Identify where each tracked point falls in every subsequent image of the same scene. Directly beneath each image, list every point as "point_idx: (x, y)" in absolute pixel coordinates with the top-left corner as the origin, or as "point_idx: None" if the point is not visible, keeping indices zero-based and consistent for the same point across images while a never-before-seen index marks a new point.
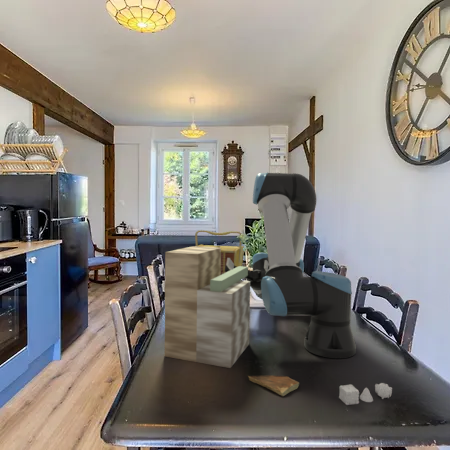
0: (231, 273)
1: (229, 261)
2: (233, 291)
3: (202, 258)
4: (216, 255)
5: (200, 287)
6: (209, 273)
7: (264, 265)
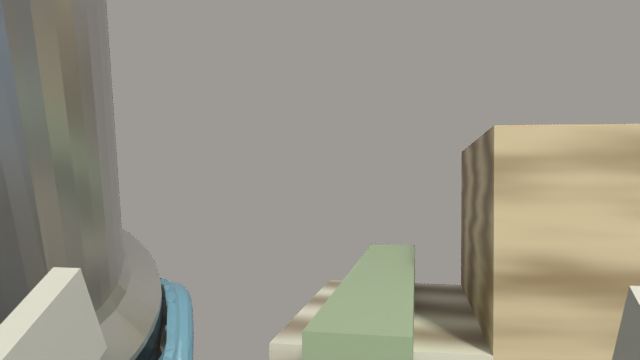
0: (374, 265)
1: (630, 347)
2: (329, 286)
3: (465, 172)
4: (483, 174)
5: (463, 285)
6: (472, 255)
7: (95, 327)
